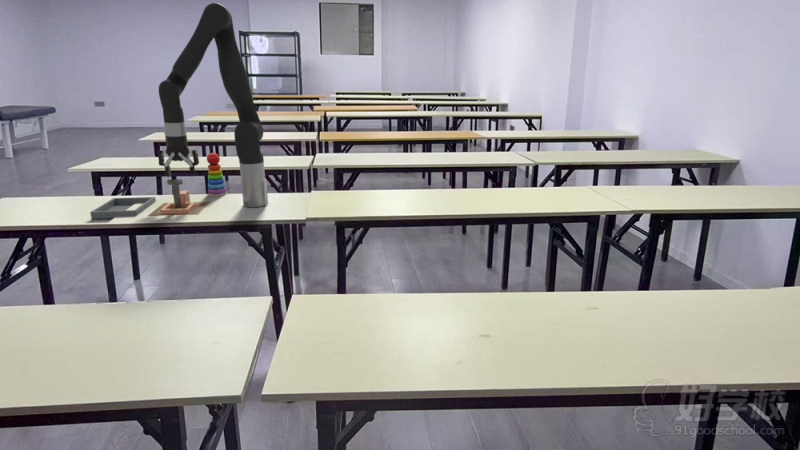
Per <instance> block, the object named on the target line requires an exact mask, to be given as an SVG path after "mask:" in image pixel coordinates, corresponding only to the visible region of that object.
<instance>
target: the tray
mask: <svg viewBox="0 0 800 450" xmlns="http://www.w3.org/2000/svg"><path fill="white" fill-rule="evenodd" d="M155 202H157V200H156V196H145V197H144V196H143V197H141V196H140V197H138V196H137V197H113V198H111V199H110V200H108V201H106V202H104V203H102V204H101V205H100V206H98V207H96V208H95V209H93V210H91V211H90V212H89V213H90V217H91V218H90V219H91V221H102V220H105V221H106V220H114V219H116V218H117V217H133V216H134V217H135V216H138V215H140V214H141V213H142V212H144V211H145V210H146V209H148V208H149V207H151V206H152V205H153V204H155ZM137 203H138V204H139V203H142V204H140V206H138V207H136V208H135V209H130V210H128V209H129V208H131V207H132V206H134V205H135V204H137Z"/></svg>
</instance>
